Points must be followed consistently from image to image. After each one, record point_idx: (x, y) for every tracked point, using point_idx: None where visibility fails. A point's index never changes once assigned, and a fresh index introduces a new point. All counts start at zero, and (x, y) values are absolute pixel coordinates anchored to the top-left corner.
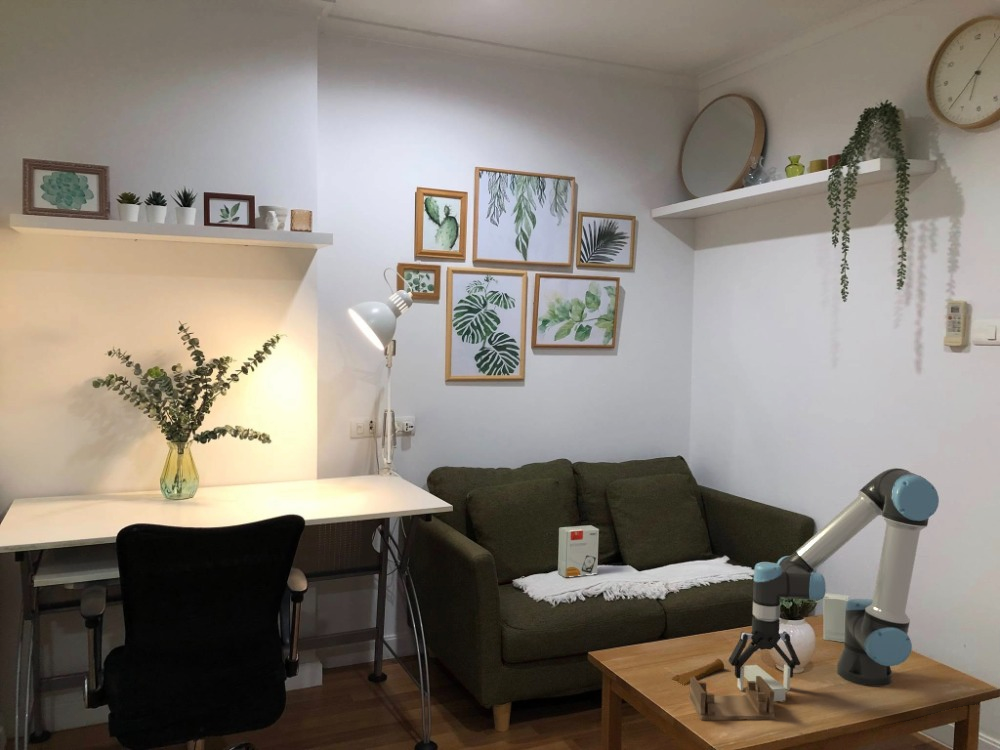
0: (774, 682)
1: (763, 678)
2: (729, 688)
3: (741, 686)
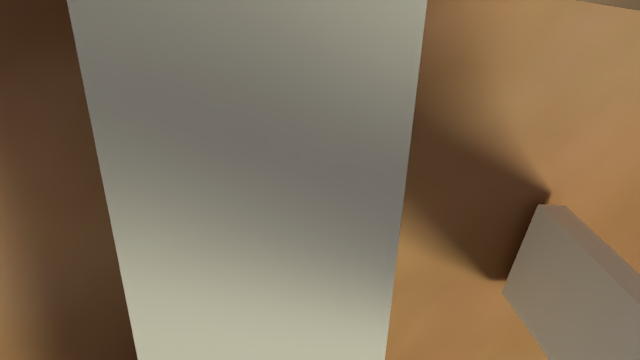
0: (196, 146)
1: (325, 310)
2: None
3: (584, 234)
